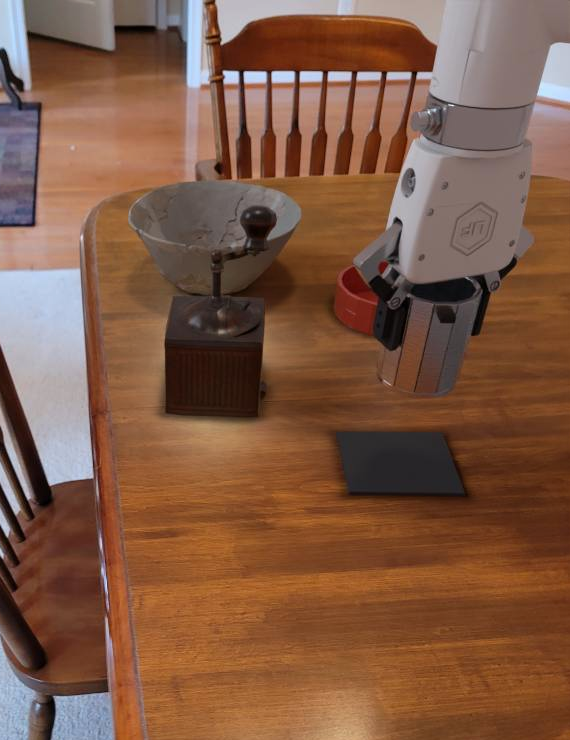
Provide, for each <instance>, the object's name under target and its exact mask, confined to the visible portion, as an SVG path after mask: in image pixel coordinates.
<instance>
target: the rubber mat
mask: <svg viewBox="0 0 570 740" xmlns="http://www.w3.org/2000/svg"><path fill="white" fill-rule="evenodd" d="M335 435H336V440H337V445H338V450H339V455H340V459H341V464H342V469H343V474H344V479H345V485H346V488H347V493H348V495H349V496H396V497H397V496H402V497H404V496H405V497H465V495H466V492H465V488H464V487H463V483H462V481H461V479H460V476H459V473H458V471H457V470H458V469H457V468H456V465H455V462H454V460H453V457H452V454H451V451H450V448H449V446H448V444H447V440H446V437H445V435H444V433H443V432H439V431H438V432H433V431H430V432H429V431H428V432H426V431H425V432H424V431H415V432H414V431H356V430H355V431H348V430H347V431H346V430H345V431H344V430H343V431H342V430H337V431H336V434H335Z"/></svg>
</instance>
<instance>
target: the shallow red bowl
mask: <svg viewBox="0 0 570 740" xmlns="http://www.w3.org/2000/svg"><path fill="white" fill-rule="evenodd" d="M388 265H389V263H387V262H385V261H384V260H383V261H382V262H381V263H380V264H379V267H378V270H379V272H380V274H381V276H382V274H383V273H384V271H385V270H386V268H387V267H388ZM377 302H378V297H377V296H376V295H375V294H374V293H373V292H372V291H371V290H370V288H369V287H368V286H367V285H366V284H365V283H364V281H363V279H362V277H361V276H360V274H359V273H358V271H357V270H356V268H355V266H354V265H353V264H351V265H348V266H347V267H345V268H344V269H343V270H341V271H340V272H339V275H338V277H337V280H336V287H335V294H334V302H333V312H334V315H335V317H336V318H337V320H339V322H341V323H342V324H343V325H345V326H347V328H350V329H352V330H353V331H354V330H355V331H357V332H359V333H363V334H366V335H370V336H374V333H373V324H374V318H375V313H376V308H377Z"/></svg>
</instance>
